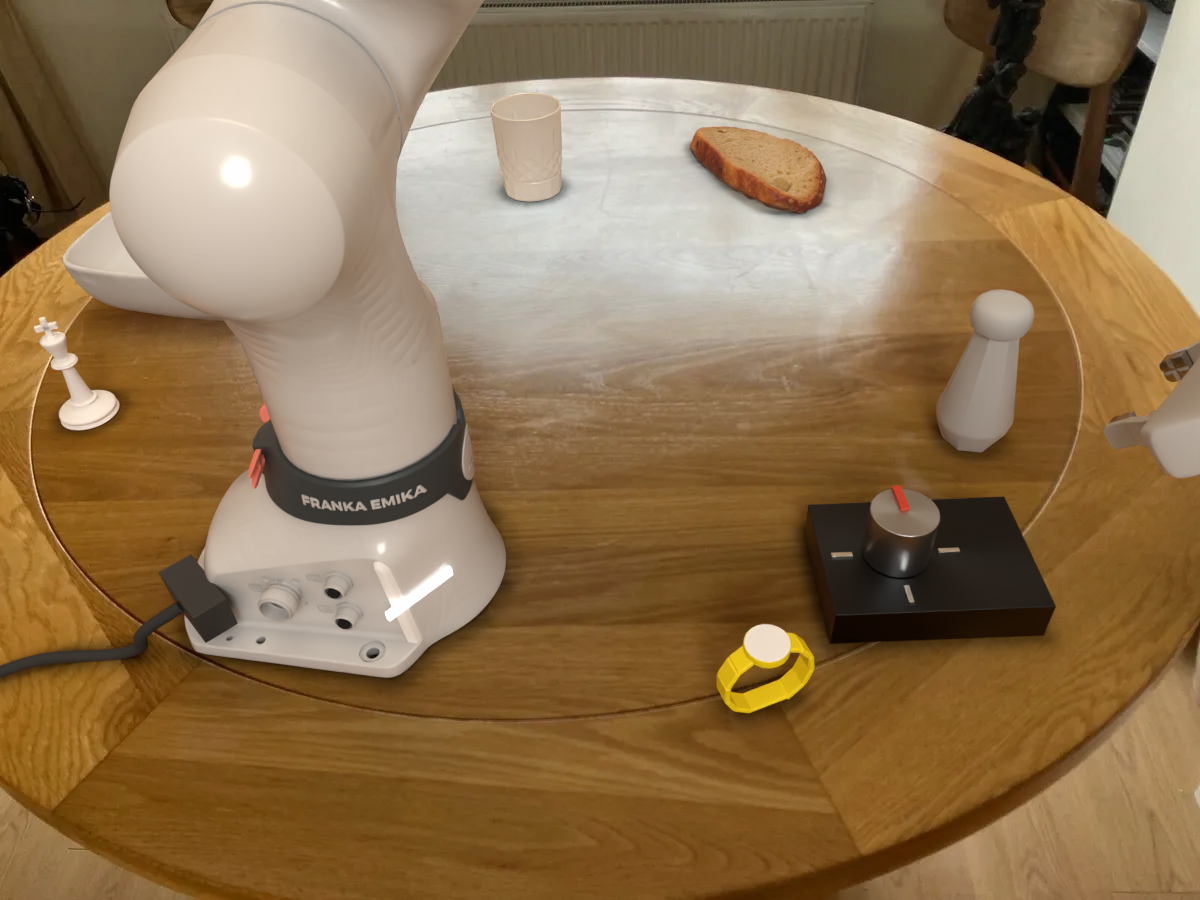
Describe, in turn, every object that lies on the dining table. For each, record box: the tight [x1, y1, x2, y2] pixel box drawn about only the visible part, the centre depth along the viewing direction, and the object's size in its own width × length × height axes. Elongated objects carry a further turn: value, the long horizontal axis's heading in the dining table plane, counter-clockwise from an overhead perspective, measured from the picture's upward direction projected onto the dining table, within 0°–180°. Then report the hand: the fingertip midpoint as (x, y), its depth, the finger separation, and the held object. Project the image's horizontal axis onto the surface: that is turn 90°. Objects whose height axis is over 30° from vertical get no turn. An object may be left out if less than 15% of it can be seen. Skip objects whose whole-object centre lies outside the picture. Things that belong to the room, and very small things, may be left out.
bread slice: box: [689, 125, 827, 214], centre depth 113 cm, size 18×18×4 cm
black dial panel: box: [803, 496, 1057, 645], centre depth 66 cm, size 14×10×3 cm
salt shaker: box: [935, 288, 1035, 453], centre depth 73 cm, size 6×6×13 cm
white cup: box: [489, 92, 563, 203], centre depth 110 cm, size 8×8×10 cm
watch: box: [715, 623, 816, 714], centre depth 58 cm, size 6×3×6 cm, turn 109°
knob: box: [862, 484, 940, 578], centre depth 63 cm, size 4×4×4 cm
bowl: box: [61, 210, 225, 322], centre depth 98 cm, size 20×20×8 cm
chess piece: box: [33, 316, 120, 431], centre depth 82 cm, size 5×5×10 cm
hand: (1139, 400), depth 66 cm, fingers open, 8 cm apart
